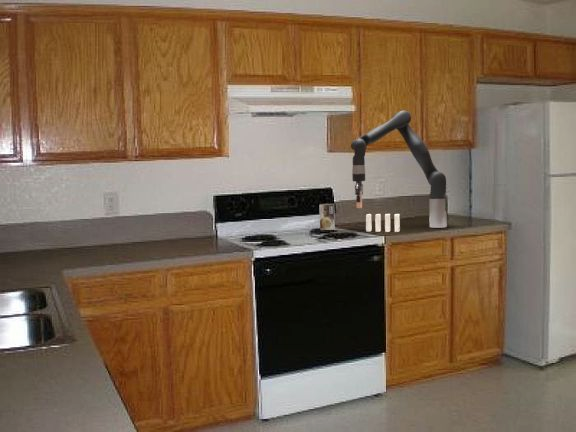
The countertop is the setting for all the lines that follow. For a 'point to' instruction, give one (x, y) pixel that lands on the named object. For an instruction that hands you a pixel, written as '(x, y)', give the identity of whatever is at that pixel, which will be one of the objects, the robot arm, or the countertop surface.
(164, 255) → the countertop surface
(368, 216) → the domino
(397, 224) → the domino
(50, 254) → the countertop surface
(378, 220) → the domino
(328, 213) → the coffee box
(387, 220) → the domino
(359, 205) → the domino
